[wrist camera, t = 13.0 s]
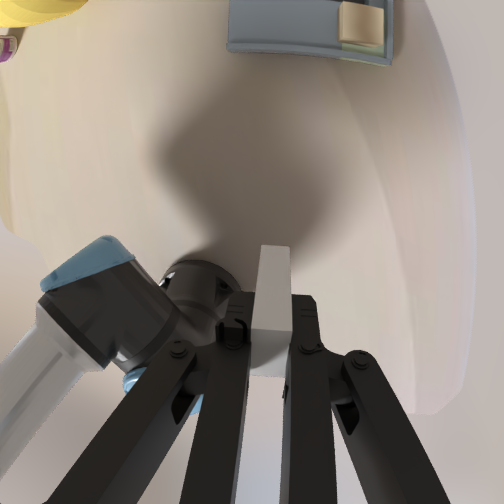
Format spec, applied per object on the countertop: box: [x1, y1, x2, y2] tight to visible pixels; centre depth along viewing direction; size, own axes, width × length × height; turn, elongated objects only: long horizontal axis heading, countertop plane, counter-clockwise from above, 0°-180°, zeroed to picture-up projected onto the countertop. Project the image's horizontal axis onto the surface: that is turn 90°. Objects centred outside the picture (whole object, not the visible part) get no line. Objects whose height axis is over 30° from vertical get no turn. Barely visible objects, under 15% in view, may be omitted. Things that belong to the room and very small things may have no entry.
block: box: [337, 1, 384, 48], centre depth 29 cm, size 5×5×4 cm
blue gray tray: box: [226, 0, 393, 67], centre depth 30 cm, size 21×15×4 cm
